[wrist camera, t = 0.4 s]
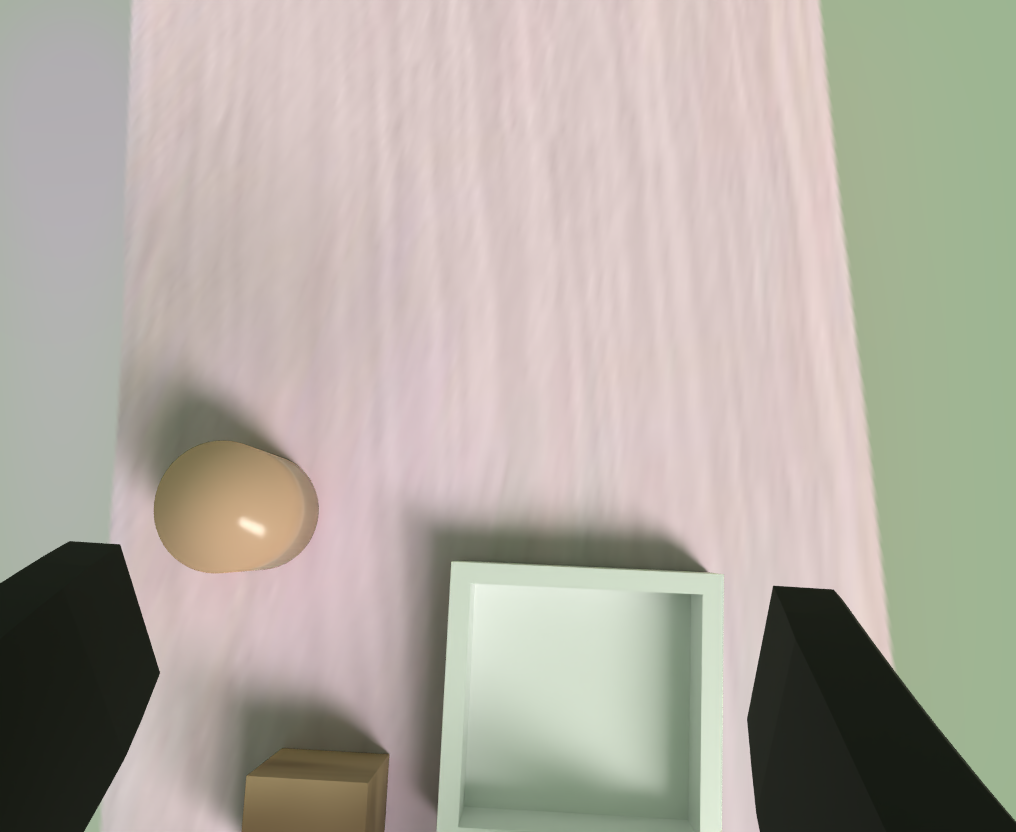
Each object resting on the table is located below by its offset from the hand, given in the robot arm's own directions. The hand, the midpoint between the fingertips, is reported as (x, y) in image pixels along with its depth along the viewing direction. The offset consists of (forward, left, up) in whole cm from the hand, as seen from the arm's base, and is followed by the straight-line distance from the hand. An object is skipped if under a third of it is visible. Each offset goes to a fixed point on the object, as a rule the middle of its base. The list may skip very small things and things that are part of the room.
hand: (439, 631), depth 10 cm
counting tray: (-5, -3, -27) cm, 28 cm away
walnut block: (-10, +7, -27) cm, 30 cm away
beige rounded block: (+2, +11, -27) cm, 30 cm away
